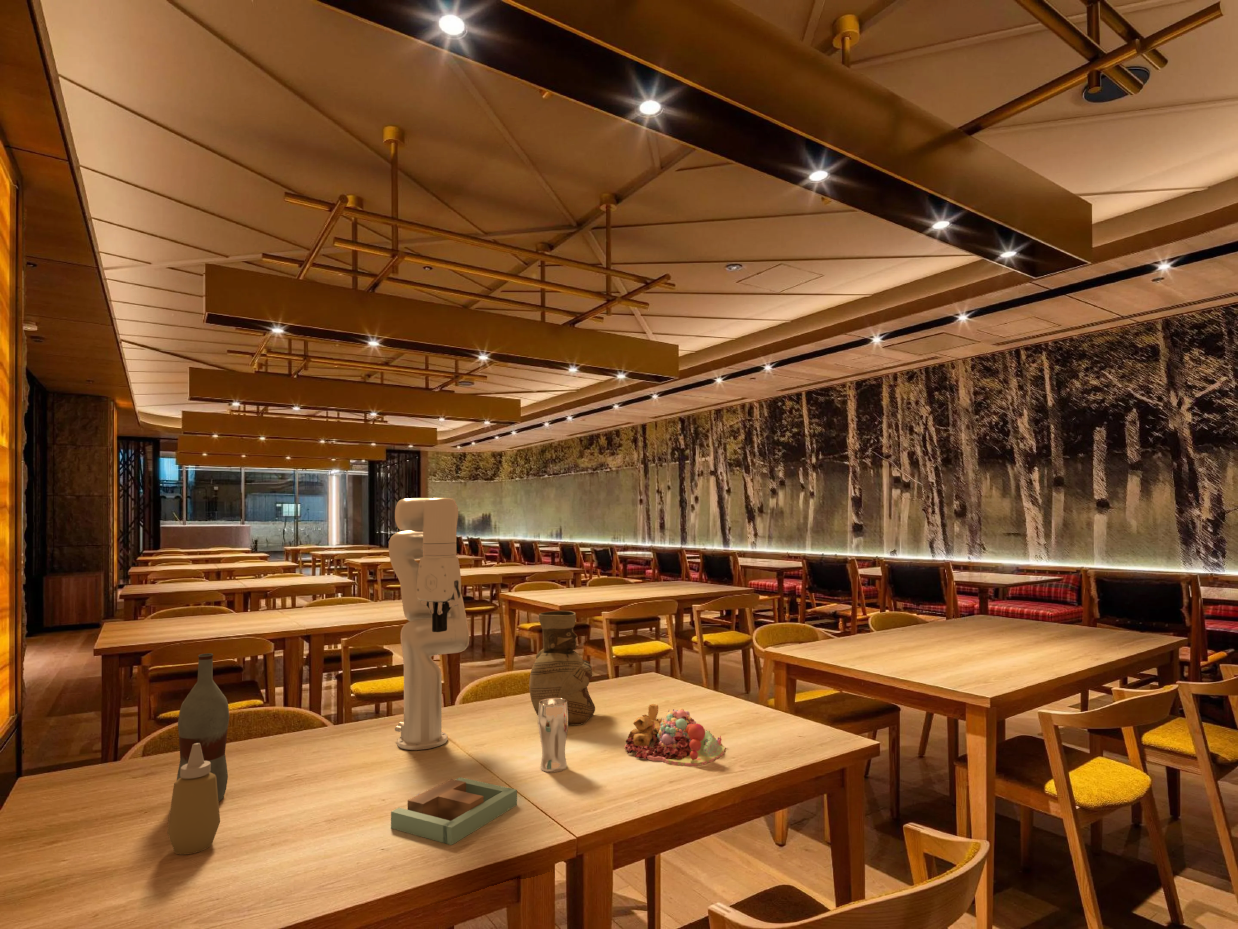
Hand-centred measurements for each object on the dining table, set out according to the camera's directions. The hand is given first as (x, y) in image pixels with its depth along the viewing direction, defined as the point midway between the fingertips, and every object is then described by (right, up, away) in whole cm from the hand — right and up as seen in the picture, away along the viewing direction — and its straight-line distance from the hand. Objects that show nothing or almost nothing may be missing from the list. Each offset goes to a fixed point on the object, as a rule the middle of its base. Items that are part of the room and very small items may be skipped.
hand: (439, 631), depth 158 cm
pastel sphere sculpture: (+55, -33, +13) cm, 66 cm away
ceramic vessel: (+25, -35, +40) cm, 59 cm away
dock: (+10, -30, -24) cm, 40 cm away
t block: (+9, -30, -24) cm, 40 cm away
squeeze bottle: (-35, -30, -35) cm, 58 cm away
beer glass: (+26, -32, +1) cm, 41 cm away
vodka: (-46, -32, -15) cm, 58 cm away
